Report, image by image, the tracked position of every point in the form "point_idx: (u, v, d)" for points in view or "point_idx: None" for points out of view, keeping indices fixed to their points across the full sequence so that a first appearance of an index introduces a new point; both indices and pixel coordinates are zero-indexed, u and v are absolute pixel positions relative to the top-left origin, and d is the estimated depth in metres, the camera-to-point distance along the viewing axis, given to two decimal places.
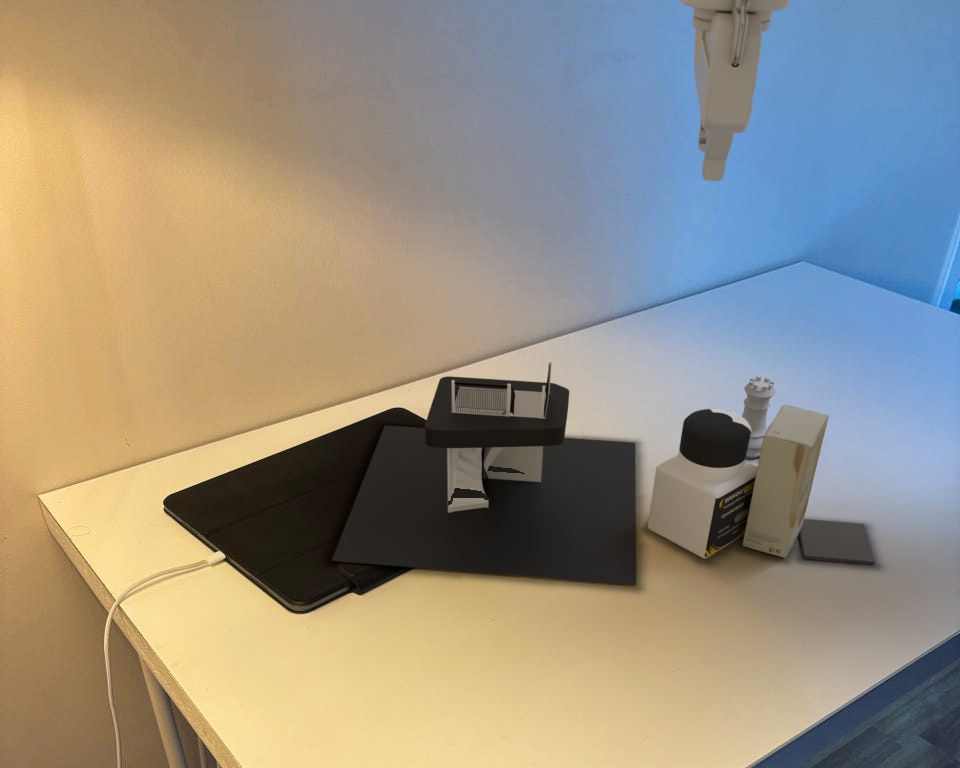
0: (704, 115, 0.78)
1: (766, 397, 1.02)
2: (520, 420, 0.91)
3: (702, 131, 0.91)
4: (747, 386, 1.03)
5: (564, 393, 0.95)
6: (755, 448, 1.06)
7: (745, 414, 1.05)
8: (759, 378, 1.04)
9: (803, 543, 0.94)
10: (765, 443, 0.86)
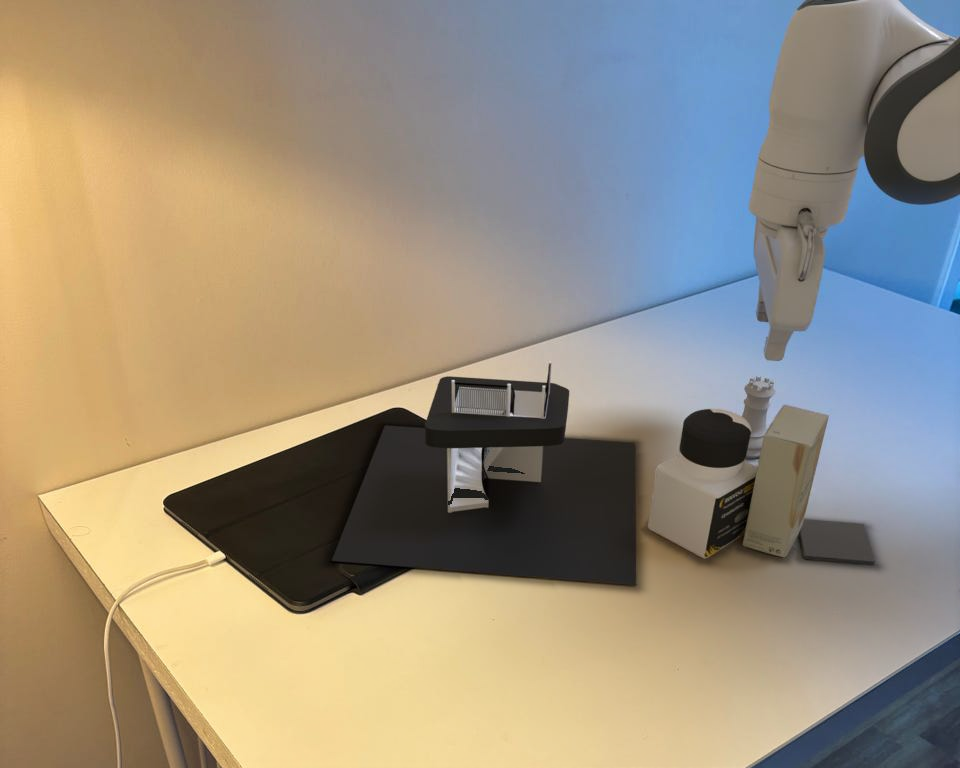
0: (771, 317, 0.89)
1: (766, 397, 1.02)
2: (520, 420, 0.91)
3: (760, 306, 1.02)
4: (747, 386, 1.03)
5: (564, 393, 0.95)
6: (755, 448, 1.06)
7: (745, 414, 1.05)
8: (759, 378, 1.04)
9: (803, 543, 0.94)
10: (765, 443, 0.86)
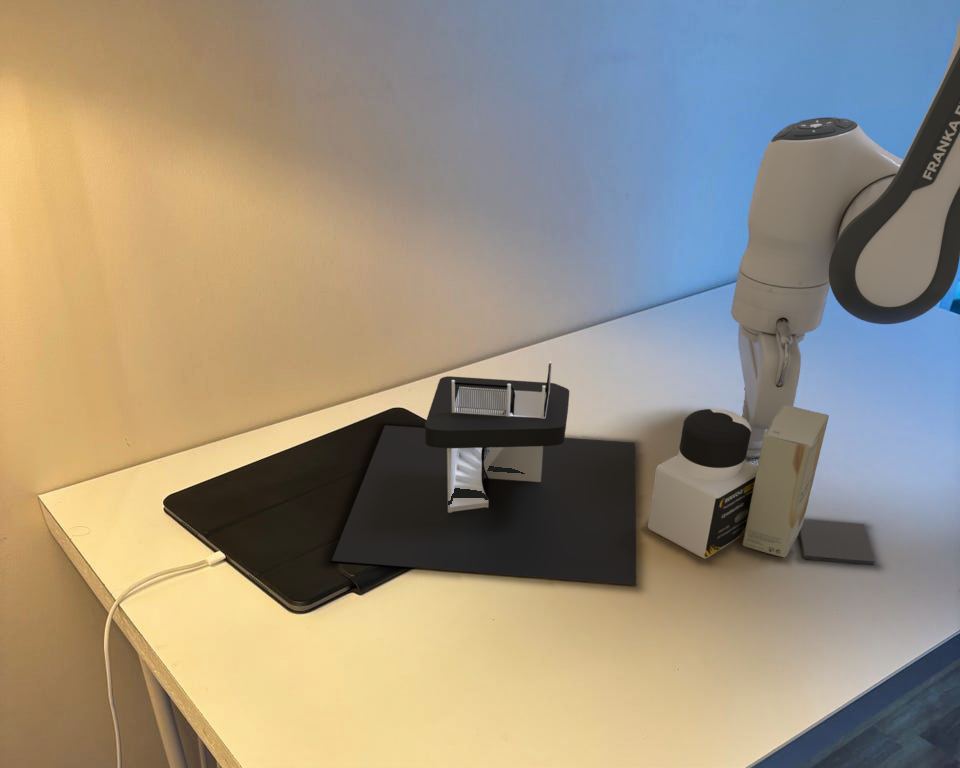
0: (752, 418, 0.95)
1: None
2: (520, 420, 0.91)
3: None
4: None
5: (564, 393, 0.95)
6: (755, 448, 1.06)
7: (745, 414, 1.05)
8: None
9: (803, 543, 0.94)
10: (765, 443, 0.86)
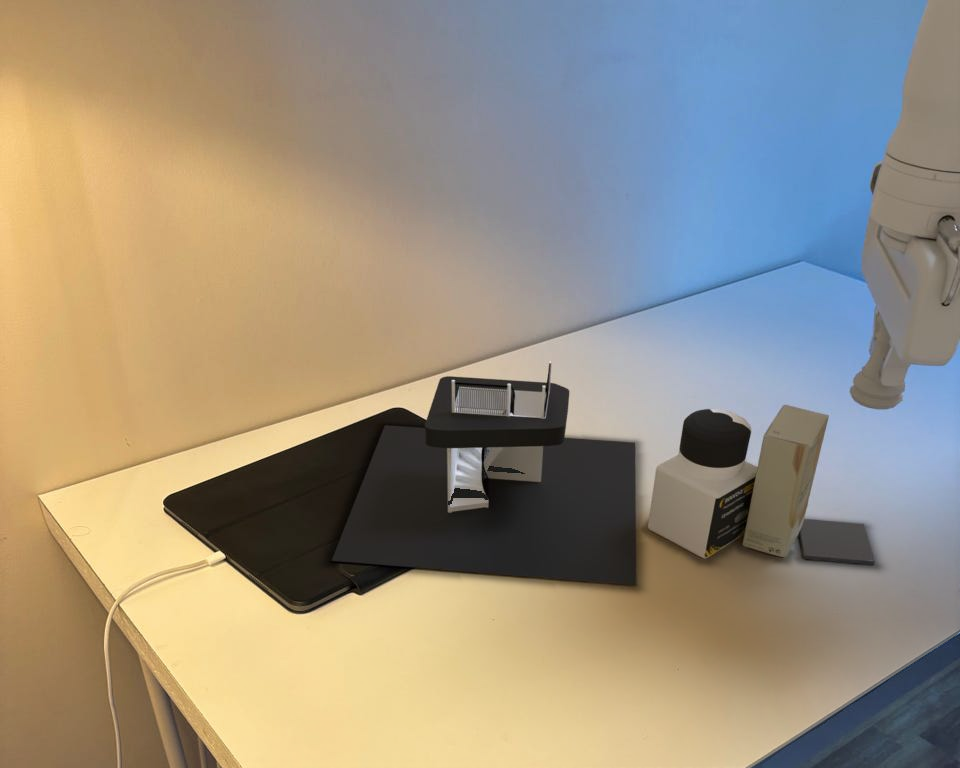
0: (905, 349, 0.72)
1: None
2: (520, 420, 0.91)
3: None
4: None
5: (564, 393, 0.95)
6: (889, 396, 0.83)
7: (877, 352, 0.82)
8: None
9: (803, 543, 0.94)
10: (765, 443, 0.86)
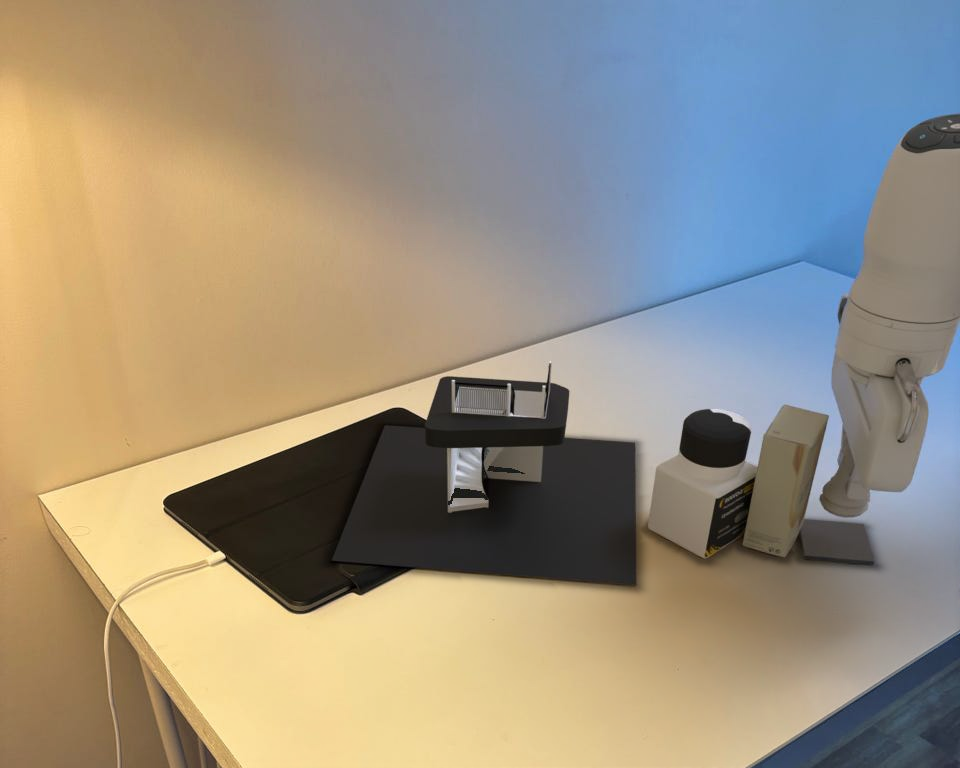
0: (865, 478, 0.79)
1: None
2: (520, 420, 0.91)
3: None
4: None
5: (564, 393, 0.95)
6: (854, 506, 0.90)
7: (844, 467, 0.89)
8: None
9: (803, 543, 0.94)
10: (765, 443, 0.86)
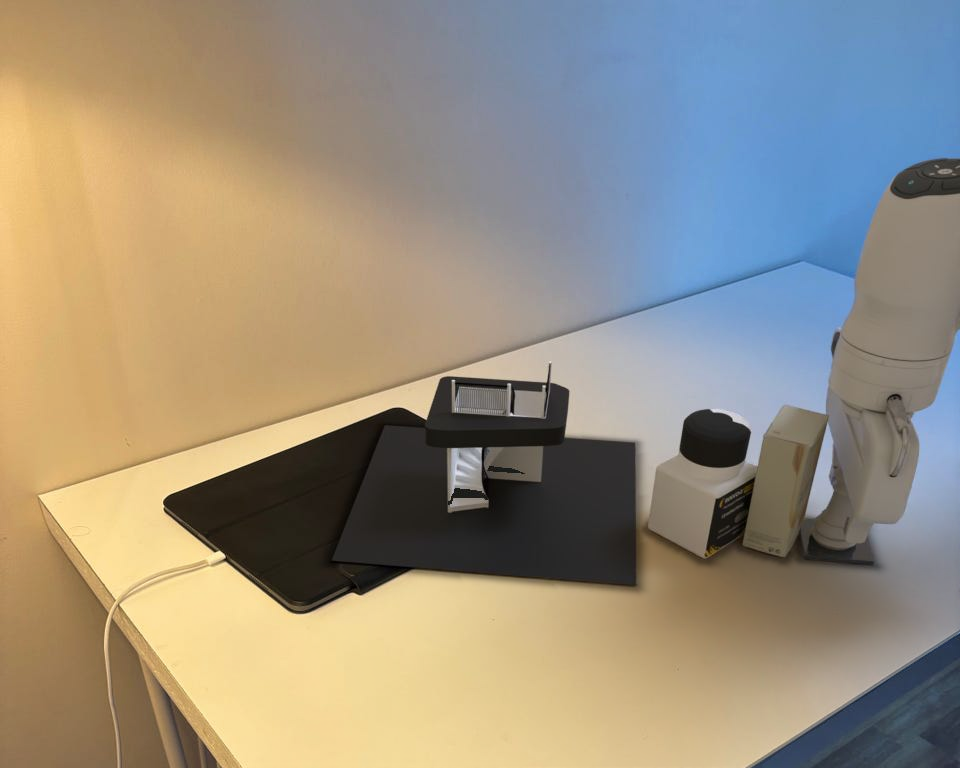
0: (858, 511, 0.81)
1: None
2: (520, 420, 0.91)
3: None
4: (838, 470, 0.90)
5: (564, 393, 0.95)
6: (845, 539, 0.92)
7: (834, 502, 0.91)
8: None
9: (803, 543, 0.94)
10: (765, 443, 0.86)
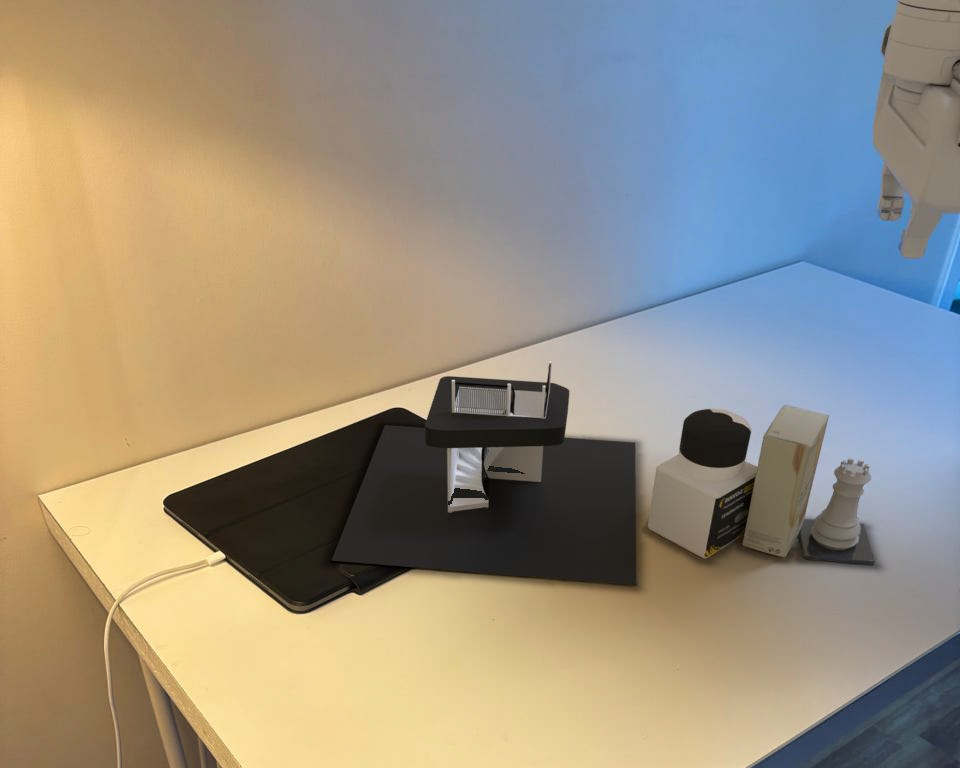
0: (921, 196, 0.73)
1: (861, 484, 0.89)
2: (520, 420, 0.91)
3: (885, 200, 0.86)
4: (838, 470, 0.90)
5: (564, 393, 0.95)
6: (845, 539, 0.92)
7: (834, 502, 0.91)
8: (851, 461, 0.90)
9: (803, 543, 0.94)
10: (765, 443, 0.86)
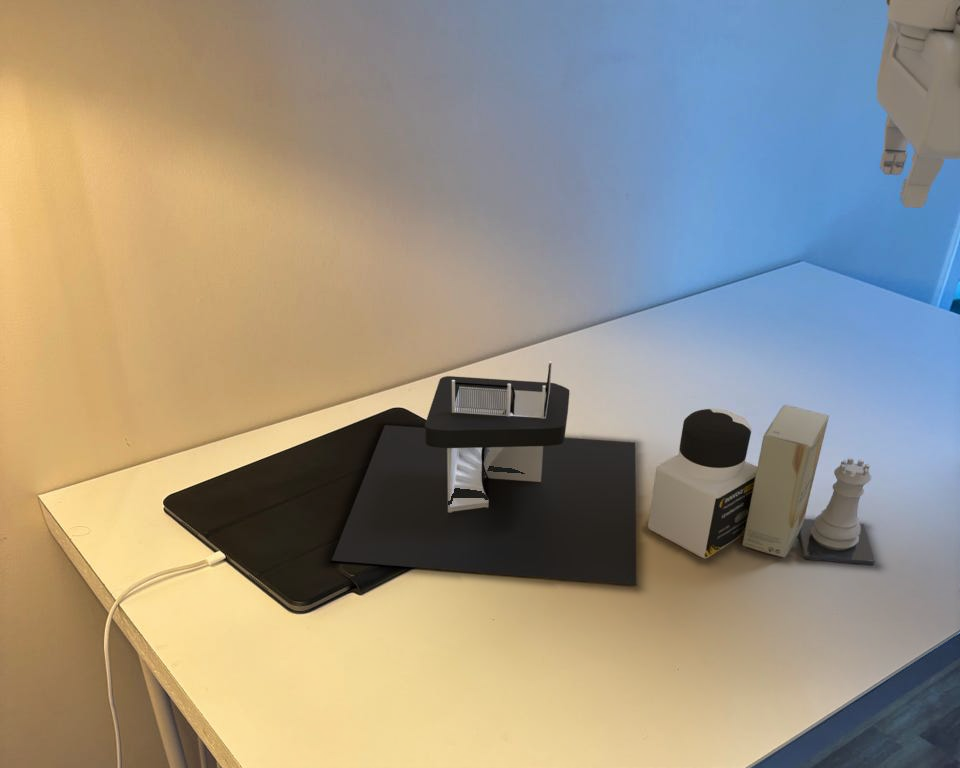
0: (923, 140, 0.73)
1: (861, 484, 0.89)
2: (520, 420, 0.91)
3: (888, 154, 0.86)
4: (838, 470, 0.90)
5: (564, 393, 0.95)
6: (845, 539, 0.92)
7: (834, 502, 0.91)
8: (851, 461, 0.90)
9: (803, 543, 0.94)
10: (765, 443, 0.86)
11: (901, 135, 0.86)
